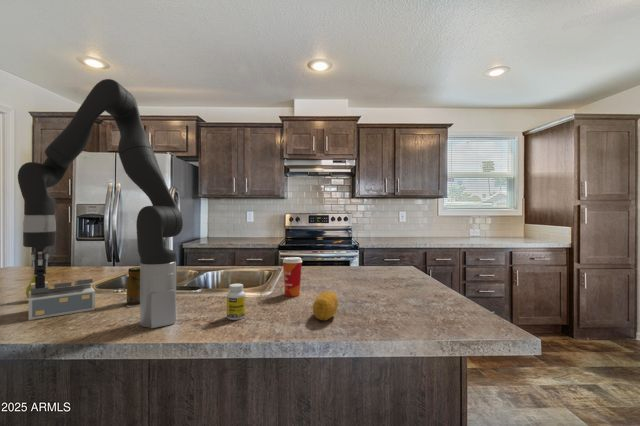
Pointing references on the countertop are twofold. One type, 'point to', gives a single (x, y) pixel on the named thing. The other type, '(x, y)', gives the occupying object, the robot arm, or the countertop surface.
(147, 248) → the robot arm
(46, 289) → the switch left
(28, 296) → the fruit
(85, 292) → the switch unit
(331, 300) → the potato
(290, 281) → the paper cup
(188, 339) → the countertop surface
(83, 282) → the switch right
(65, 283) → the switch middle
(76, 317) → the countertop surface
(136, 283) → the condiment
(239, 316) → the supplement bottle
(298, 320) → the countertop surface
